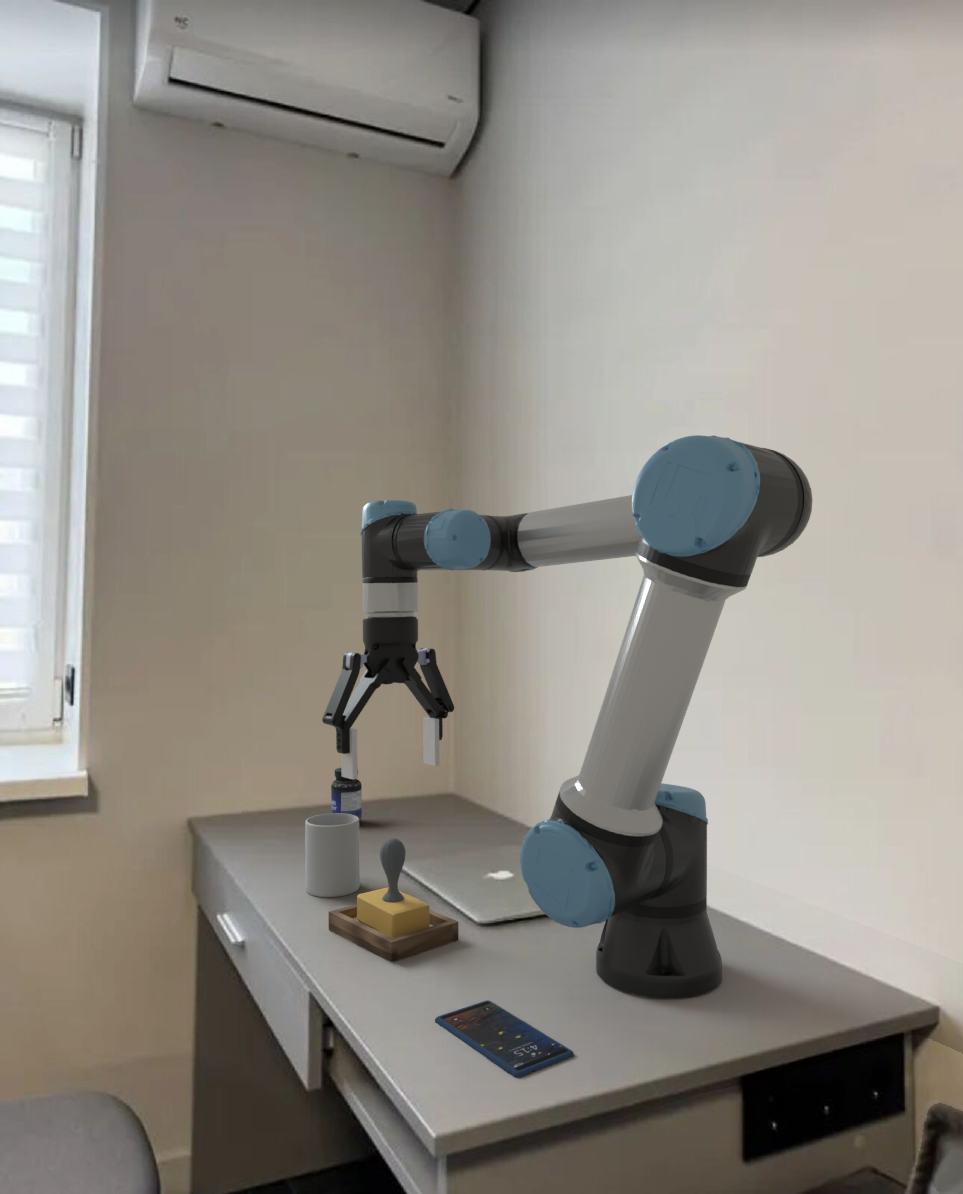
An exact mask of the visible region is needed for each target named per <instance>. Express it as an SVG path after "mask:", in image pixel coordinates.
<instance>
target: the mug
mask: <svg viewBox="0 0 963 1194" xmlns="http://www.w3.org/2000/svg"><path fill="white" fill-rule="evenodd" d="M304 826H305V827H304V839H305V840H304V842H305V845H304V847H305V850H304V851H305V852H304V853H305V854H304V855H305V859H304V860H305V869H304V870H305V874H304V875H305V878H304V881H305V882H304V883H305V884H304V885H305V891H306V893H307V894H309V895H311V896H314V897H320V898H338V897H344V896H348V895H351V894H354V893H355V892H357V891H359V889H360V885H361V875H360V873H361V872H360V824H359V818H358V817H357V816H355V815H351V814H343V813H322V814H318V815H317V814H316V815H312V816H310V817H308V818H307V819H305V822H304Z"/></svg>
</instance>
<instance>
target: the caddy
mask: <svg viewBox="0 0 963 1194" xmlns="http://www.w3.org/2000/svg"><path fill="white" fill-rule="evenodd" d="M429 918H430V927H428V928H425V929H422V930H418V931H415V932H412V933H409V934H405V935H402V936H399V937H396V938H392V937H389V936H387V935H385V934H383V933H381V932H379V931H377V930H375V929H373V928H371V927H369V926H368V925H366V924H364V923H362V922H360V921H358V920H357V903H356V904H352V905H351V904H350V905H348V906H345V907H344V906H343V907H341V908H336V909H333V910H330V911H328V931H331V932H332V933H334V934H337V935H339V936H340V937H342V938H344V939H346V940H348V941H349V942H352V943H353V944H355V945H356V946H360V947H362V948H363V949H365V950H368V951H369V952H371V953H373V954H374V955H377V956H379V957H380V958H382V959H384V960H386V961H388V962H391V963H394V962H396V961H399V960H402V959H405V958H408V957H412V956H414V955H417V954H420V953H423V952H427V951H429V950H433V949H435V948H440V947H442V946H445V945H448V944H452V943H454V942H457V941H459V935H460V934H459V921H458V920H455V919H454V918H452V917H451V918H450V917H448V916H446V915H444V914H441V913H439V912H437V911H434V910H432V909H430V908H429Z"/></svg>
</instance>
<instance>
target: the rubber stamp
mask: <svg viewBox="0 0 963 1194" xmlns="http://www.w3.org/2000/svg"><path fill="white" fill-rule="evenodd" d="M406 855H407V854H406V848H405V845H404V843H403V842H402V841H401V840H400V839H398V838H396V837H391V838H387V839H386V840H384V842H383V843H382V845H381V847H380V852H379V858H380V859H379V860H380V862H381V865H382V869H383V871H384V874H385V876H386V879H387V884H388V886H387V887H383V888H379V889H375V890H371V891H367V892H364V893H363V892H362V893H358V894H357V896H356V904H357V920H358V921H360V922H362V923H364V924H366V925H368V926H369V927H371V928H373V929H375V930H377V931H379V932H381V933H383V934H385V935H387V936H389V937H392V938H396V937H399V936H402V935H405V934H409V933H412V932H415V931H418V930H422V929H425V928H428V927H430V918H429V909H430V905H429V904H428V903H426V902H425V901H422V900H421V899H418V898H416V897H414V896H411V895H410V894H407V893H405V892H403V891H401V890H399V887H398V886H399V885H398V883H399V878H400V877H401V876H400V875H401V872H402V870H403V868H404V863H405V861H406Z"/></svg>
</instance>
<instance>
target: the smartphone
mask: <svg viewBox="0 0 963 1194" xmlns="http://www.w3.org/2000/svg"><path fill="white" fill-rule="evenodd" d="M434 1022H435V1024H437V1025H439V1026H440V1027H442V1028H443V1029H445V1030H446V1031H447V1032H448V1033H451V1034H452V1035H453V1036H454V1037H456V1038H457V1039H459V1041H461V1042H463V1043H465V1044H466V1045H467V1046H469V1047H470V1048H472V1049H473V1050H474V1051H476V1052H477V1053H479V1054H480V1055H482V1056H483V1057H484V1058H485V1059H487V1060H489V1062H491V1063H493V1065H496V1066H497V1067H498V1068H500V1069H501V1070H503V1071H504V1072H505V1073H507V1074H509V1075H511V1076H512V1077H513V1078H515V1079H521V1078H524V1077H526V1076H529V1075H532V1072H533V1073H537V1072H539V1071H542V1070H544V1069H547V1068H550V1067H552V1066H555V1065H557V1064H559V1063H561V1062H564V1061H567V1060H570V1059H572V1058H574V1056H575V1053H574V1051H573V1050H572V1049H570V1048H568V1047H566V1046H565V1045H564V1044H562V1043H560V1042H559V1041H557V1040H555V1039H553V1038H552V1037H550V1036H548V1035H547V1034H545V1033H544V1032H542V1031H540V1030H539V1029H537V1028H535V1027H533V1026H532V1025H531V1024H529V1023H528V1022H526V1021H524V1020H522V1019H520V1017H518V1016H516V1015H514V1014H512V1013H511V1012H510V1011H507V1010H506V1009H504V1008H502V1007H501V1006H500V1005H498V1004H496V1003H494V1002H493V1001H491V1000H489V999H488V1000H483V1001H480V1002H478V1003H475V1004H471V1005H469V1006H465V1007H462V1008H459V1009H457V1010H453V1011H450V1012H447V1013H444V1014H441V1015H439V1016H436V1017H435V1018H434Z"/></svg>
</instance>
